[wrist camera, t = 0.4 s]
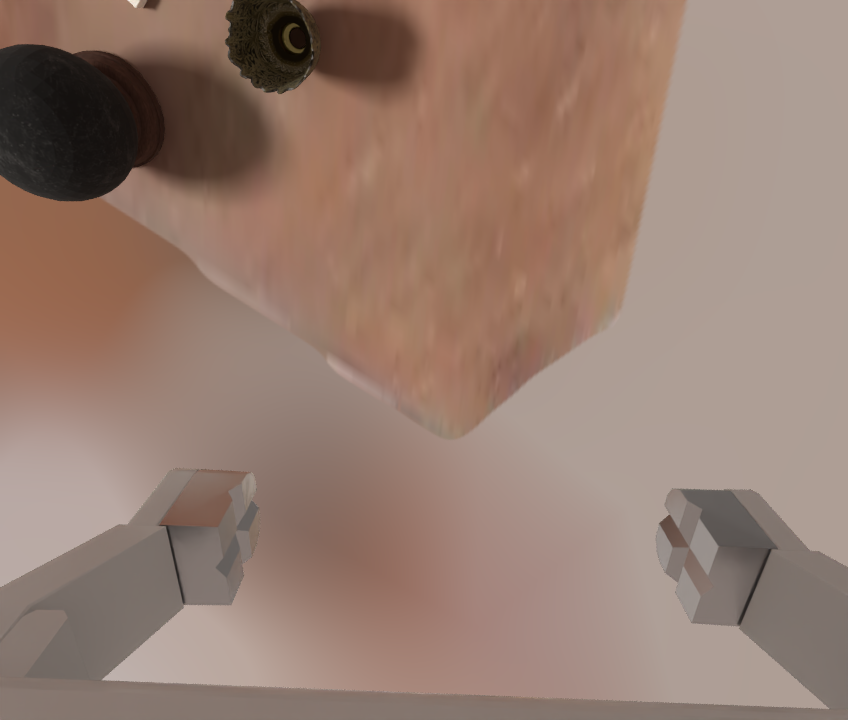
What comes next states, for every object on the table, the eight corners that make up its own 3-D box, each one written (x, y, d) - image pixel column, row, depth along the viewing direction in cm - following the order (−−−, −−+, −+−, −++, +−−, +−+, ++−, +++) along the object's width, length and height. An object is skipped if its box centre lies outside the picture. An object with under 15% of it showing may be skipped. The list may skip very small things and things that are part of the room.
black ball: (173, 191, 59) (88, 240, 46) (58, 154, 58) (-60, 194, 46) (173, 64, 51) (71, 82, 39) (40, 19, 50) (-107, 24, 38)
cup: (266, -25, 46) (228, -30, 40) (344, 8, 47) (320, 9, 40) (254, 65, 50) (218, 74, 44) (326, 94, 51) (301, 107, 45)
